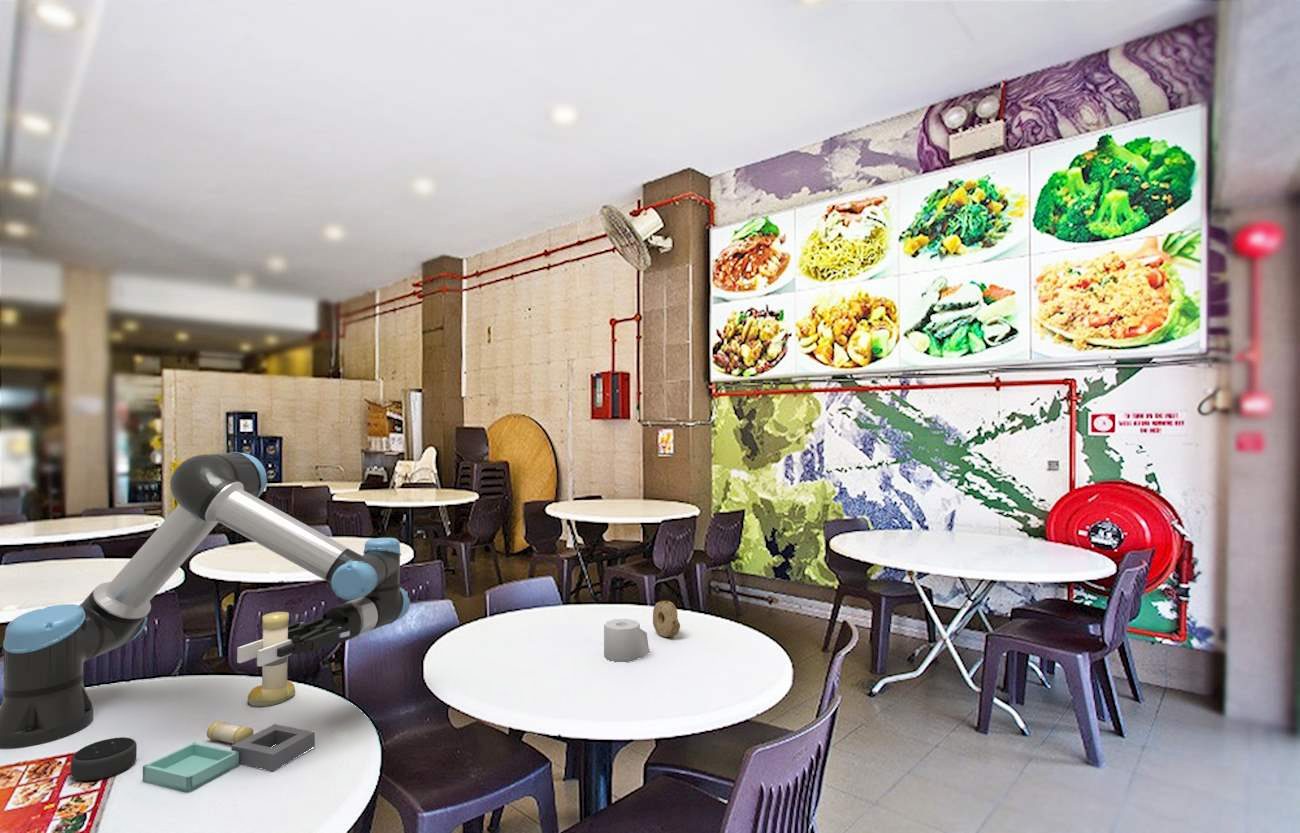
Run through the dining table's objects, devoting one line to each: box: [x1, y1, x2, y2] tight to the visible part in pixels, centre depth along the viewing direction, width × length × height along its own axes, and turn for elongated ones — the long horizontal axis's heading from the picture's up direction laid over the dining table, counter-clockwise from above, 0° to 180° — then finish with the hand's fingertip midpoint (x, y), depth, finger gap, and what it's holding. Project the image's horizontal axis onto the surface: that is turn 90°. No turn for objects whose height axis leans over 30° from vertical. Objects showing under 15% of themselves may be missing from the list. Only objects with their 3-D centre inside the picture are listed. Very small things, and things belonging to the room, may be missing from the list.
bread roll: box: [247, 679, 296, 707], centre depth 144 cm, size 8×9×4 cm
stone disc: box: [652, 600, 681, 638], centre depth 189 cm, size 10×4×10 cm, turn 35°
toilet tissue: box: [603, 618, 650, 663], centre depth 173 cm, size 9×13×9 cm
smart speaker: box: [70, 736, 138, 782], centre depth 114 cm, size 9×9×4 cm
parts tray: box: [142, 741, 240, 794], centre depth 113 cm, size 11×9×2 cm
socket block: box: [230, 723, 316, 772], centre depth 119 cm, size 10×9×3 cm
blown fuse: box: [261, 611, 290, 701], centre depth 120 cm, size 4×4×15 cm
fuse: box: [206, 720, 255, 745], centre depth 125 cm, size 8×3×3 cm, turn 71°
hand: (249, 656), depth 115 cm, fingers closed on blown fuse, 4 cm apart
